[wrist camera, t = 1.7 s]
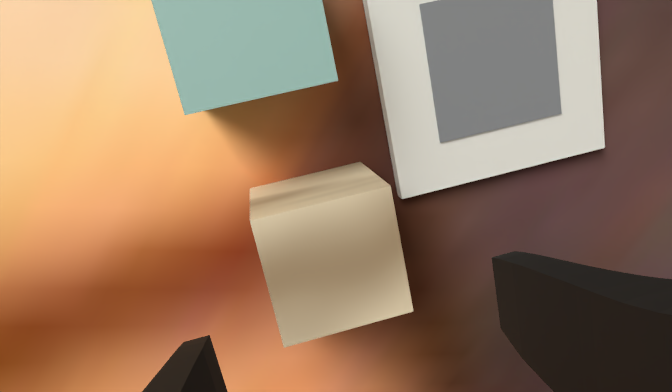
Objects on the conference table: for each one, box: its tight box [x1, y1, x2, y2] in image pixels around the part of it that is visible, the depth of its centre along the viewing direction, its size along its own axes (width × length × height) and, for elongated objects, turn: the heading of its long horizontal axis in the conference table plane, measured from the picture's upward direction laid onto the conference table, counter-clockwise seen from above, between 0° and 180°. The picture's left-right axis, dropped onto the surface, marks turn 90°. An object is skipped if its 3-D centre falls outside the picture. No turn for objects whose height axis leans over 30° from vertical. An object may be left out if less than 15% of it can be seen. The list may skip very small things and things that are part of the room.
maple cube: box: [250, 162, 413, 348], centre depth 18 cm, size 4×4×4 cm
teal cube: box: [152, 0, 338, 115], centre depth 16 cm, size 4×4×4 cm
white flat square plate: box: [363, 0, 605, 199], centre depth 19 cm, size 9×9×1 cm
